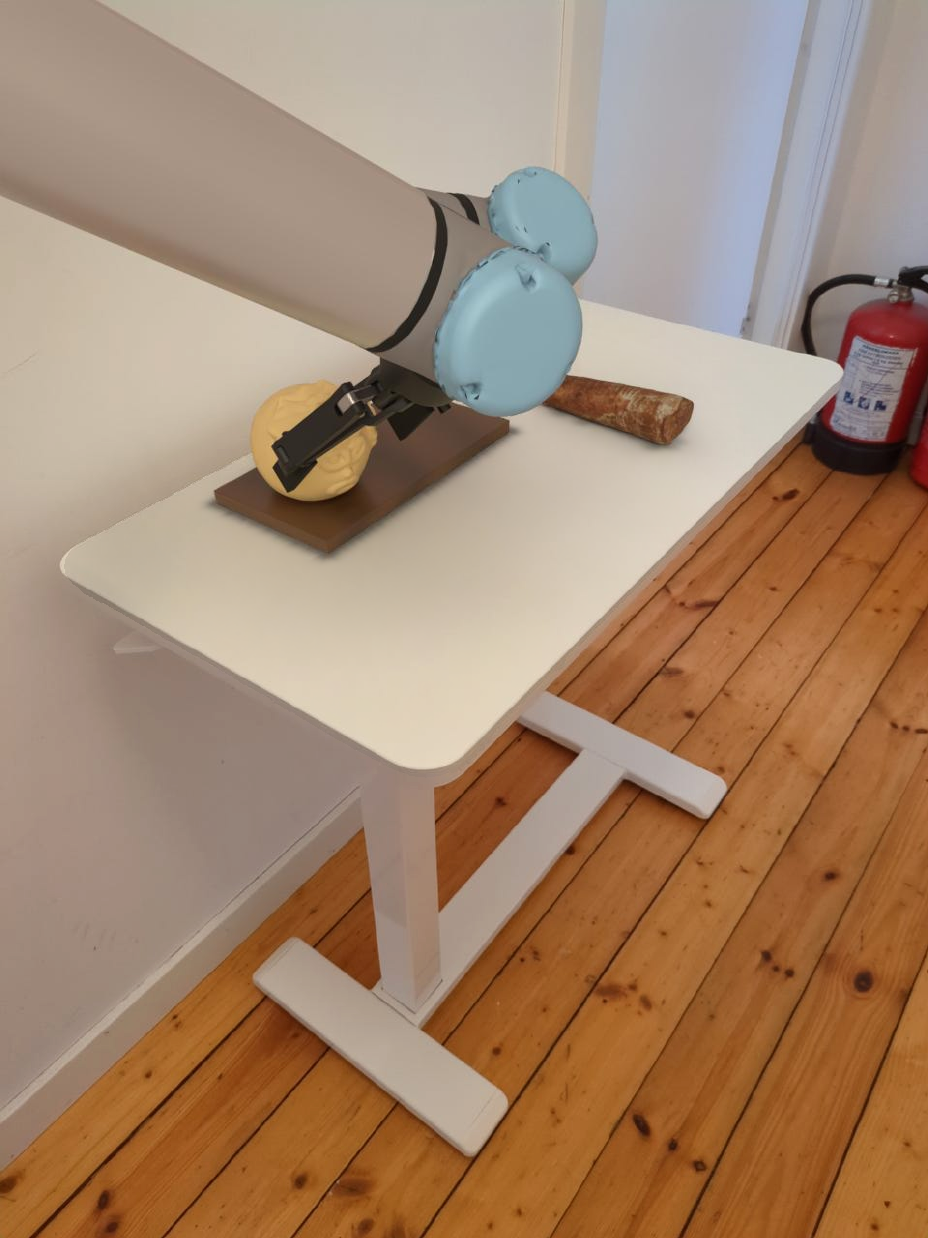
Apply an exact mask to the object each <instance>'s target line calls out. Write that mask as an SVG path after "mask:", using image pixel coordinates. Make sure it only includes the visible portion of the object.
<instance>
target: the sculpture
mask: <svg viewBox="0 0 928 1238" xmlns="http://www.w3.org/2000/svg"><path fill="white" fill-rule="evenodd" d="M340 386H341V385H336V384H334V383H332V382H330V381H328V380H326V379H320V380H318V381H317V382H313V383H311V382H309V383H308V382H307V383H297V384H292V385H288V386H286V387H283V388H281V389H279V390H278V391H276V392H274V393H273V394H271V395H270V396H269V397H268V398H267V399H266V400H265V401H264V402H263V403H262V404H261V405H260V407H259V408H258V409H257V411H256V413H255V414H254V417H253V420H252V423H251V427H250V434H249V436H250V437H249V443H250V444H249V445H250V451H251V456H252V459H253V461H254V464H255V467H257V468H258V470H259V472H260V474H261V475H262V477H263V478H264V479H265V481H266V482H267V483H268V484H269V485H270V486H271V487H272V488H273V489H275V490H276V491H277V492H279V493H281V494H283V495H285V496H287V497H290V498H293V499H297V500H301V501H320V500H326V499H330V498H333V497H336V496H338V495H340V494H342V493H345V492H346V491H348V490H349V489H351V488H352V487H353V486H354V485H355V484H356V483H357V482H358V480H359V477H360V476H361V474H362V472H363V470H364V468H365V466H366V463H367V461H368V458H369V455H370V452H371V449H372V448H373V447H374V446H375V445H376V443H377V431H376V426H364V427H363V428H361V429H360V430H359V431H357V432H356V433H354V434H353V435H351V436H350V437H348V438H347V439H345V440H344V441H342V442H341V443H339V444H338V445H337V446H335V447H334V448H332V449H331V450H329V451H328V452H326V453H325V454H323V455H322V456H320V457H319V458H317V459H316V460H317V462H318V463H317V464H316V466H315V467H314V468H313V469H312V470H311V471H310V472H309V474H308V475H307V476H306V477H305V478H304V479H303V480H302V482H301V483H300V484H299V485H298V486H297V487H296V488H295V490H293V491H291V492H289V493H287V492H286V490H285V488H284V487H283V485H282V483H281V482H280V480H279V478H278V477H277V475H276V473H275V472H274V470H273V468H272V467H273V466H274V464H275V463H276V462H277V460H278V458H277V456H276V454H275V453H274V451H273V449H272V448H271V445H272V444H274V442H275V441H277V440H279V439H280V438H281V437H282V433H283V432H284V431H290V430H291V429H292V428H293V427H295V426H296V425H297V424H298V423H299V422H301V421H302V420H303V419H304V418H306V417H307V416H308V415H309V414H310V413H312V412H313V411H314V410H315V409H317V408H318V407H319V406H320V405H321V404H323V403H324V402H325V401H326V400H328V399H329V398H330V397H331V396H332V394H333V393H334V392H335V391H336V390H337V389H338V388H339V387H340ZM367 404H368V406H369V407H370V409H371V411H372V412H373V414H374V415H376V412H375V410H374V408H373V407H372V406H371V404H372V403H371V401H369V402H368V403H367Z"/></svg>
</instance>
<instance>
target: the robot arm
mask: <svg viewBox="0 0 928 1238" xmlns="http://www.w3.org/2000/svg"><path fill="white" fill-rule="evenodd" d="M0 197H2V198H5V199H6V200H10V201H11V202H14V203H16V204H18V205H21V206H24V207H26V208H28V209H30V210H33V211H35V212H38V213H40V214H42V215H45V216H48V217H50V218H53V219H55V220H57V221H59V222H61V223H64V224H67V225H69V226H71V227H74V228H76V229H78V230H81V231H83V232H86V233H88V234H91V235H93V236H95V237H98V238H100V239H102V240H104V241H107V242H110V243H112V244H114V245H116V246H119V247H121V248H124V249H127V250H129V251H130V252H133V253H136V254H138V255H140V256H143V257H145V258H147V259H150V260H152V261H154V262H157V263H159V264H162V265H164V266H167V267H169V268H170V269H171V268H172V269H174V270H176V271H179V272H181V273H183V274H186V275H188V276H190V277H193V278H195V279H198V280H200V281H203V282H205V283H207V284H209V285H212V286H214V287H217V288H219V289H221V290H224V291H226V292H228V293H230V294H231V293H232V294H234V295H236V296H237V297H238V296H239V297H241V298H243V299H245V300H248V301H250V302H253V303H255V304H258V305H260V306H262V307H264V308H267V309H269V310H271V311H274V312H277V313H278V314H281V315H284V316H286V317H289V318H291V319H293V320H296V321H298V322H300V323H302V324H304V325H307V326H310V327H312V328H315V329H317V330H320V331H322V332H324V333H326V334H329V335H331V336H334V337H336V338H338V339H340V340H343V341H346V342H348V343H350V344H352V345H355V346H357V347H359V348H361V349H362V350H365V351H367V352H368V353H371V354H372V355H374V356H376V357H377V358H378V357H379V364H378V365H376V366H375V367H373V368H372V369H371V371H370V374H369V375H368V376H366V377H365V378H364V379H362V380H361V381H358V383H356V384H355V385H353V383H352V381H347V382H343V383H341V384H340V385H339V386H340V387H339V388H338V389H337V390H336V391H335V392H334V393H333V394H332V396H331V397H330V398H329V399H328V400H326V401H325V402H324V403H323V404H321V405H320V406H319V407H318V408H317V409H315V410H314V411H313V412H312V413H310V414H309V415H308V416H307V417H306V418H304V419H303V420H302V421H301V422H299V423H298V424H297V425H296V426H295V427H293V428H292V429H291V430H290V431H284V432H283V433H282V437H281V438H280V439H279V440H277V441H275V442H274V444H272V445H271V448H272V449H273V451H274V453H275V454H276V456H277V458H278V460H277V462H276V463H275V464H274V466H273V467H272V468H273V470H274V472H275V473H276V475H277V477H278V478H279V480H280V482H281V483H282V485H283V487H284V488H285V490H286V492H287V493H289V492H291V491H293V490H295V488H296V487H297V486H298V485H299V484H300V483H301V482H302V480H303V479H304V478H305V477H306V476H307V475H308V474H309V472H310V471H311V470H312V469H313V468H314V467H315V466H316V464H317V463H318V462H317V460H316V459H317V458H319V457H320V456H322V455H323V454H325V453H326V452H328V451H329V450H331V449H332V448H334V447H335V446H337V445H338V444H339V443H341V442H342V441H344V440H345V439H347V438H348V437H350V436H351V435H353V434H354V433H356V432H357V431H359V430H360V429H361V428H363V427H364V426H377V425H378V424H380V423H381V422H383V421H384V420H386V419H387V420H388V422H389V423H390V425H391V427H392V429H393V430H394V432H395V434H396V435H397V437H398V439H399V440H400V441H402V440H404V439H406V438H407V437H408V436H409V435H410V434H411V433H412V432H413V431H414V430H415V429H416V428H417V427H418V426H419V425H420V424H421V423H422V422H423V421H425V420H426V419H427V418H428V417H429V416H430V415H431V414H432V413H433V412H434V411H435V409H434V408H433V407H437V409H438V411H439V413H440V414H443V413H445V412H447V411H448V410H449V409H451V406H450V404H449V403H450V402H454V401H455V402H459V403H462V404H463V405H464V406H466V407H469V408H471V409H473V410H475V411H477V412H479V413H481V414H484V415H488V416H492V417H501V418H506V417H507V418H508V417H515V416H518V415H521V414H525V413H527V412H529V411H531V410H533V409H535V408H538V406H540V405H542V404H544V403H543V402H544V401H546V400H547V399H548V398H549V397H550V396H551V395H552V394H553V393H554V392H555V391H556V390H557V389H558V388H559V387H560V385H561V384H562V382H563V381H564V379H565V377H566V375H569V373H570V372H571V370H572V366H573V364H574V362H575V361H576V359H577V357H578V355H579V351H580V347H581V343H582V337H583V311H582V307H581V303H580V301H579V297H578V295H577V292H576V291H575V288H574V286H575V284H576V283H577V282H578V281H579V280H580V278H582V277H583V275H584V274H585V273H586V272H587V271H588V270H589V269H590V267H591V266H592V264H593V262H594V260H595V257H596V256H597V255H596V254H597V250H598V244H599V243H598V241H599V240H598V239H599V238H598V230H597V227H596V225H595V219H594V215H593V212H592V210H591V208H590V206H589V204H588V203H587V200H586V199H585V197H584V196H583V195H582V193H581V192H580V191H579V190H578V189H577V188H576V186H574V184H572V183H571V182H570V181H569V180H567V179H566V178H565V177H564V176H562V175H560V174H559V173H557V172H555V171H553V170H551V169H548V168H545V167H541V166H526V167H524V168H520V169H517V170H514V171H513V172H511V173H509V174H508V175H507V176H506V178H504V179H503V181H501V182H500V183H499V184H495V185H494V186H493V187H492V190H491V193H490V194H489V196H487V197H482V196H478V195H472V194H466V193H459V192H455V193H454V192H444V191H438V190H434V189H428V188H424V187H418V186H414V185H412V184H410V183H408V182H407V181H405V180H403V179H401V178H400V177H399V176H397V175H395V174H393V173H392V172H389V171H388V170H386V169H384V168H383V167H381V166H380V165H378V164H376V163H374V162H373V161H371V160H370V159H368V158H366V157H365V156H363V155H361V154H359V153H357V152H356V151H354V150H353V149H351V148H349V147H347V146H346V145H344V144H342V143H341V142H339V141H337V140H336V139H334V138H332V137H330V136H328V135H327V134H325V133H323V132H322V131H320V130H319V129H317V128H315V127H314V126H312V125H310V124H308V123H307V122H305V121H304V120H301V119H300V118H299V117H296V116H295V115H293V114H292V113H290V112H288V111H286V110H284V109H283V108H281V107H279V106H278V105H276V104H275V103H272V102H271V101H269V100H267V99H266V98H265V97H263V96H260V95H259V94H257V93H255V92H254V91H252V90H250V88H247V87H245V86H244V85H242V84H240V83H239V82H237V81H235V80H234V79H232V78H230V77H228V76H227V75H226V74H224V73H221V72H220V71H218V70H216V69H215V68H213V67H211V66H210V65H208V64H207V63H205V62H203V61H201V60H199V59H198V58H196V57H195V56H193V55H191V54H190V53H188V52H186V51H185V50H182V49H181V48H179V47H178V46H177V45H174V44H172V43H171V42H169V41H168V40H166V39H164V38H162V37H161V36H159V35H157V34H155V33H154V32H152V31H151V30H148V29H147V28H145V27H143V26H142V25H141V24H138V23H136V22H135V21H134V20H132V19H130V18H129V17H127V16H124V14H121V13H120V12H118V11H117V10H115V9H113V8H112V7H110V6H108V5H107V4H105V3H103V2H101V1H99V0H0ZM369 401H370V402H371V403H373V404H374V405H375V406H376V407H377V409H379V410H380V411H381V412H380V413H378V414H377V415H374V414H373V412H372V411H371V409H370V407H369V406H368V404H367V403H368V402H369Z"/></svg>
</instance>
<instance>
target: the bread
mask: <svg viewBox="0 0 928 1238" xmlns="http://www.w3.org/2000/svg"><path fill="white" fill-rule="evenodd" d="M542 404H544V405H547V406H550V407H552V408H555V409H558V410H561V411H564V412H567V413H570V414H571V415H574V416H576V417H580V418H583V419H586V420H587V421H590V422H595V423H598V424H600V425H604V426H607V427H610V428H614V429H616V430H619V431H622V432H625V433H628V434H631V435H632V436H636V437H638V438H641V439H644V440H646V441H649V442H653V443H656V444H659V445H660V444H661V445H670V444H671V443H672V441H673V440H674V439H675V438H677V437H679V435H681V434H682V433H683V432H684V430H685V429H686V428H687V426H688V424H689V423H690V422H691V420H692V417H693V414H694V409H695V402H694V401H693V400H691V399H690V398H687V397H685V396H683V395H680V394H676V393H671V392H665V391H660V390H656V389H652V388H646V387H641V386H635V385H630V384H626V383H621V382H614V381H609V380H602V379H596V378H592V377H586V376H579V375H570V374H567V375H566V377H565V379H564V381H563V382H562V384H561V385H560V387H559V388H558V389H557V390H556V391H555V392H554V393H553V394H552V395H551V396H550V397H549V398H548V399H547V400H546V401H544V402H543V403H542Z"/></svg>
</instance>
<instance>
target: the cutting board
mask: <svg viewBox="0 0 928 1238" xmlns="http://www.w3.org/2000/svg"><path fill="white" fill-rule="evenodd" d="M370 404H371V406H372V407H373V408H374V410H375V412H376V415H377V414H378V413H380V412H381V411H380V410H379V409H377V407H376V406H375V405H374V404H373V402H371V403H370ZM449 404H450V406H451V409H449V410H448V411H447V412H445V413H443V414H440V413H439V411H438V409H437V407H433V408H434V409H435V411H434V412H433V413H432V414H431V415H430V416H429V417H428V418H427V419H426V420H425V421H423V422H422V423H421V424H420V425H419V426H418V427H417V428H416V429H415V430H414V431H413V432H412V433H411V434H410V435H409V436H408V437H407V438H406V439H404V440H402V441H400V440H399V439H398V437H397V435H396V434H395V432H394V430H393V429H392V427H391V425H390V423H389V422H388V420H387V419H386V420H384V421H383V422H381V423H380V424H378V425H377V426H376V431H377V443H376V445H375V446H374V447H373V448H372V449H371V452H370V455H369V458H368V461H367V463H366V466H365V468H364V470H363V472H362V474H361V476H360V477H359V480H358V482H357V483H356V484H355V485H354V486H353V487H352V488H351V489H349V490H348V491H346V492H345V493H342V494H340V495H338V496H336V497H333V498H330V499H326V500H320V501H301V500H297V499H293V498H290V497H287V496H285V495H283V494H281V493H279V492H277V491H276V490H275V489H273V488H272V487H271V486H270V485H269V484H268V483H267V482H266V481H265V479H264V478H263V477H262V475H261V474H260V472H259V470H258V468H257V466H255V467H254V468H252V469H250V470H248V471H247V472H245V473H243V474H241V475H239V476H237V477H235V478H233V479H232V480H230V481H228V482H226V483H225V484H223V485H220V486H219V487H218V488H216V489H214V490H213V494H214V498H215V502H216V503H217V504H218V505H220V506H222V507H225V508H227V509H229V510H231V511H234V512H236V513H238V514H240V515H242V516H245V517H247V518H249V519H251V520H253V521H256V522H258V523H260V524H263V525H264V526H266V527H269V528H271V529H273V530H275V531H277V532H280V533H282V534H284V535H285V536H288V537H290V538H292V539H295V540H297V541H299V542H302V543H303V544H306V545H308V546H309V547H310V546H311V547H313V548H315V549H317V550H319V551H321V552H324V553H325V554H330V553H332V552H333V551H335V550H336V549H338V548H340V547H341V546H342V545H343V544H345V543H347V542H348V541H350V540H351V539H352V538H354V537H355V536H357V535H358V534H360V533H361V532H364V530H366V529H368V528H369V527H370V526H372V525H374V524H375V523H376V522H378V521H379V520H381V519H382V518H384V517H385V516H386V515H388V514H390V513H391V512H393V511H395V509H398V507H401V506H402V505H403V504H405V503H406V502H408V501H409V500H410V499H412V498H413V497H415V496H416V495H418V494H420V493H421V492H423V491H424V490H426V489H427V488H428V487H431V485H433V484H434V483H436V482H437V481H439V480H440V479H442V478H443V477H445V476H447V474H449V473H451V472H453V471H454V470H456V469H457V468H458V467H459V466H461V465H463V464H465V462H467V461H468V460H469V459H471V458H473V457H474V456H475V455H478V454H479V453H480V452H482V451H483V450H484V449H486V448H488V447H489V446H491V445H492V444H493V443H495V442H497V441H499V440H500V439H501V438H502V437H504V436H506V435H507V434H508V433H510V423H511V422H510V419H507V418H505V417H492V416H488V415H484V414H481V413H479V412H477V411H475V410H473V409H471V408H470V407H468V406H467V405H464V404H460V403H457V402H454V401H452V402H450V403H449Z"/></svg>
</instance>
